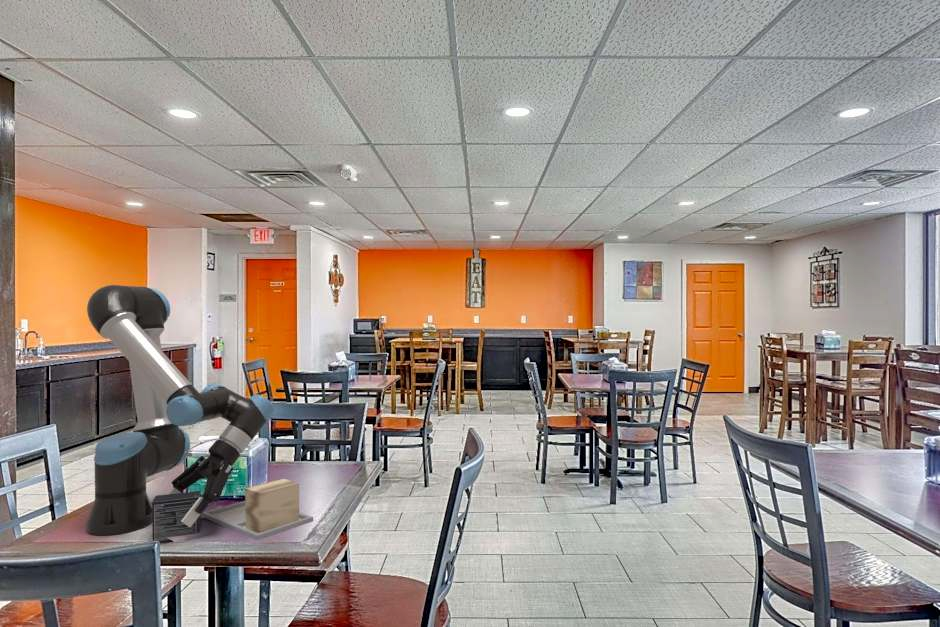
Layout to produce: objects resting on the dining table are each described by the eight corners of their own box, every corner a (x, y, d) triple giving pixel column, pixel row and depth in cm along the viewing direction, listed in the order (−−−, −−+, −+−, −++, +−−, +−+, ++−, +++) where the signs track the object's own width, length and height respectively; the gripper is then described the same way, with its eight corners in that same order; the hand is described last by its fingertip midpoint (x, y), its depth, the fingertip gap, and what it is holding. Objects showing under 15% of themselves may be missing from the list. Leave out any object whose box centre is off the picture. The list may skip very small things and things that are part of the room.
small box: (202, 530, 147) (201, 489, 147) (199, 539, 141) (199, 496, 141) (155, 536, 143) (155, 494, 143) (151, 545, 137) (151, 501, 137)
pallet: (201, 522, 153) (201, 512, 153) (255, 506, 165) (255, 497, 165) (257, 546, 136) (257, 535, 136) (313, 526, 148) (313, 517, 148)
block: (245, 528, 144) (245, 488, 144) (283, 516, 152) (283, 478, 152) (260, 534, 139) (260, 493, 140) (299, 521, 148) (299, 483, 148)
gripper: (264, 461, 147) (208, 537, 135) (215, 448, 162) (160, 516, 150) (245, 444, 143) (185, 521, 131) (196, 432, 158) (138, 501, 146)
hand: (172, 518), depth 140 cm, fingers open, 13 cm apart
